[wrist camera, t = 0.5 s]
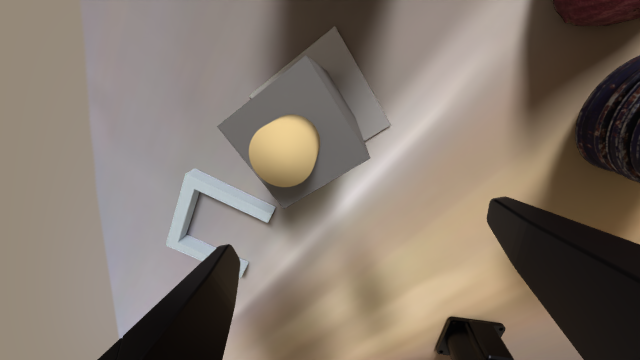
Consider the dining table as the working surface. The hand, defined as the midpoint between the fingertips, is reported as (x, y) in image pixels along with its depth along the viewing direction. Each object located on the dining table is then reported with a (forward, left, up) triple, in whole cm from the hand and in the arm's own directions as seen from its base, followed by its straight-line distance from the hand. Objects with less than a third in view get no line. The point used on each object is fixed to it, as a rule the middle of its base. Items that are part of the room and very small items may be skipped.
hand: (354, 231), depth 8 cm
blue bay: (-11, +12, -15) cm, 22 cm away
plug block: (+2, +3, -14) cm, 15 cm away
